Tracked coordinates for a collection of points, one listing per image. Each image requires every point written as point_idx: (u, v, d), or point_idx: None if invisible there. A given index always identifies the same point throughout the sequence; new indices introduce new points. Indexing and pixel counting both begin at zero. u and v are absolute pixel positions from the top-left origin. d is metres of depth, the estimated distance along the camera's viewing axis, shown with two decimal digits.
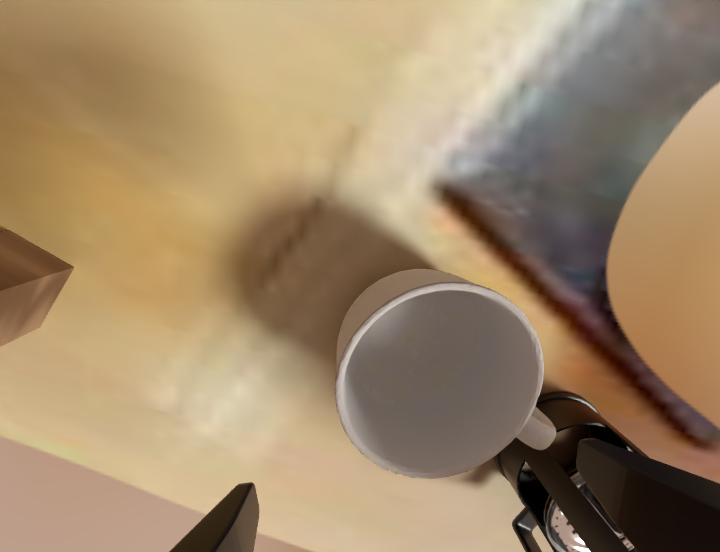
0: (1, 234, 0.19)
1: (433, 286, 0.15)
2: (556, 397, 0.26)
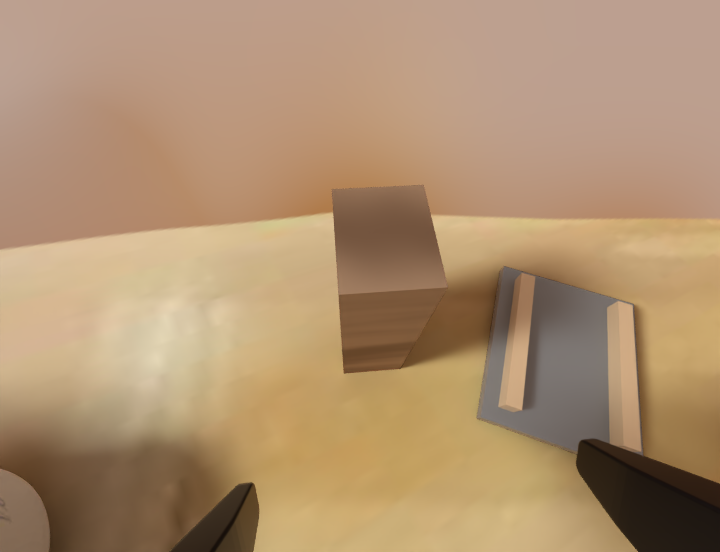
0: (397, 366, 0.23)
1: None
2: None
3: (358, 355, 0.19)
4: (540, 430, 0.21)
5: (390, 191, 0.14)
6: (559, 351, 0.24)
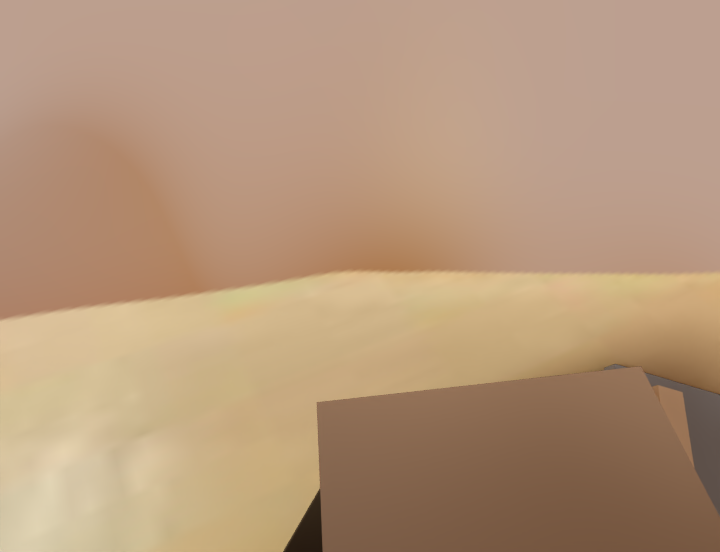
0: None
1: None
2: None
3: None
4: None
5: (532, 404, 0.04)
6: None
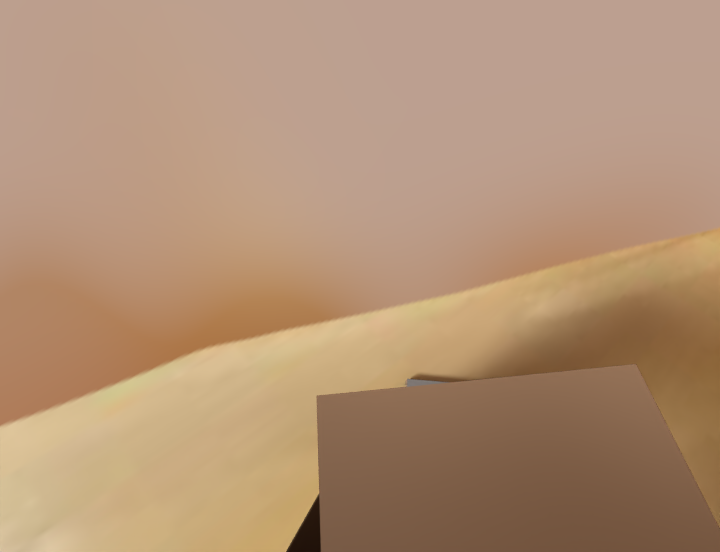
0: None
1: None
2: None
3: None
4: None
5: (527, 400, 0.04)
6: None
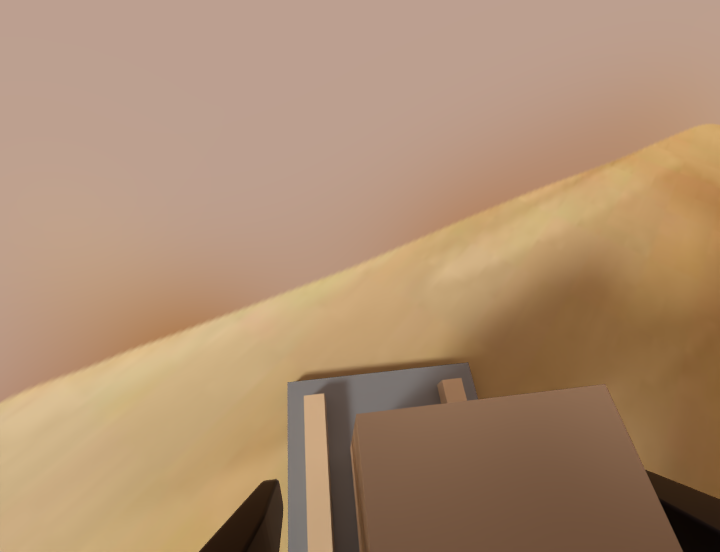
0: None
1: None
2: None
3: None
4: None
5: (522, 415, 0.05)
6: None
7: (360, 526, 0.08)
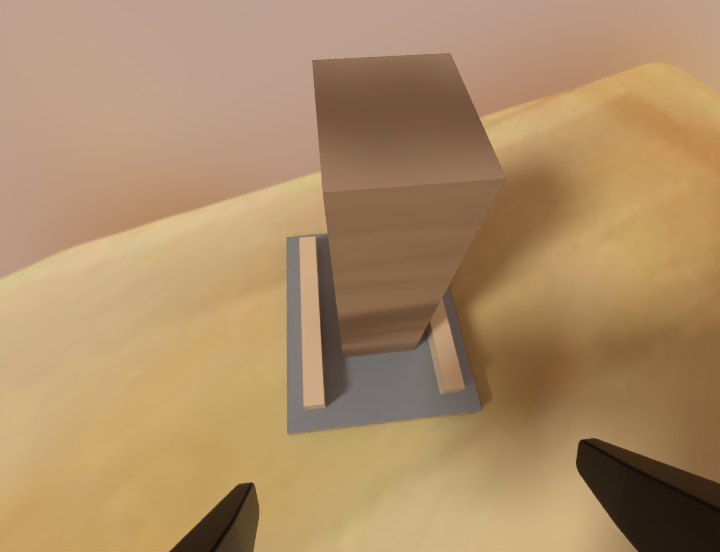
0: (411, 346, 0.18)
1: None
2: None
3: (360, 328, 0.14)
4: (361, 414, 0.17)
5: (401, 60, 0.09)
6: None
7: None
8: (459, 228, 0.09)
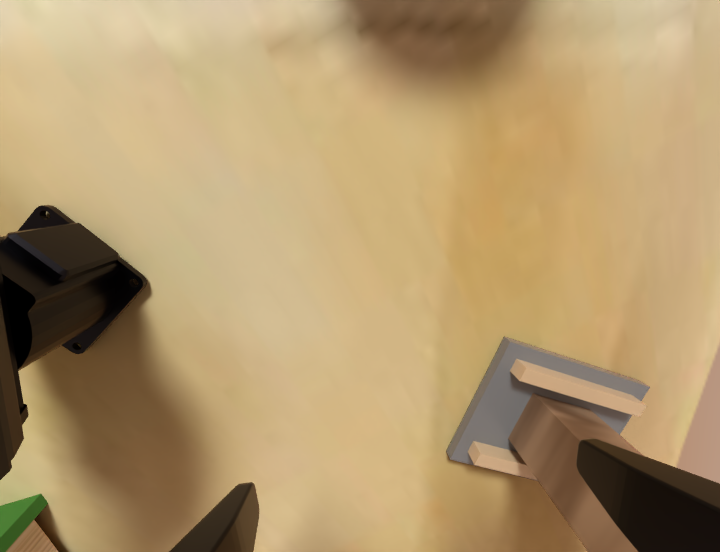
0: (515, 442, 0.24)
1: None
2: None
3: (570, 452, 0.19)
4: (492, 390, 0.23)
5: None
6: None
7: None
8: None
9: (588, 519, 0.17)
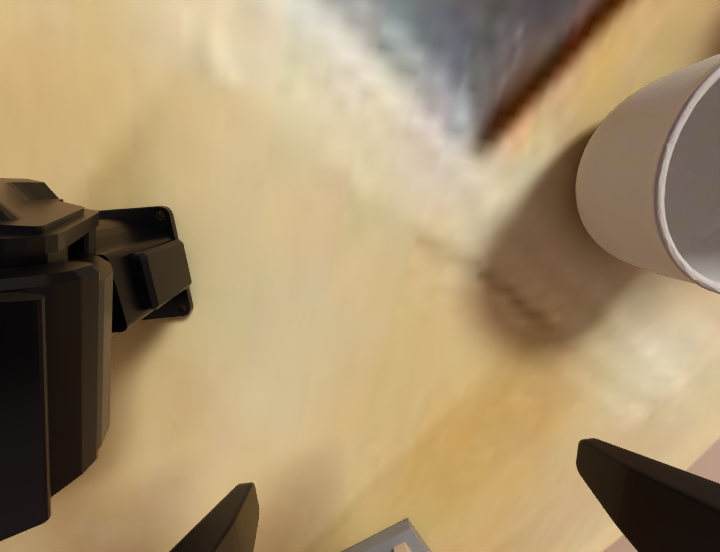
0: None
1: (661, 189, 0.13)
2: None
3: None
4: None
5: None
6: None
7: None
8: None
9: None
